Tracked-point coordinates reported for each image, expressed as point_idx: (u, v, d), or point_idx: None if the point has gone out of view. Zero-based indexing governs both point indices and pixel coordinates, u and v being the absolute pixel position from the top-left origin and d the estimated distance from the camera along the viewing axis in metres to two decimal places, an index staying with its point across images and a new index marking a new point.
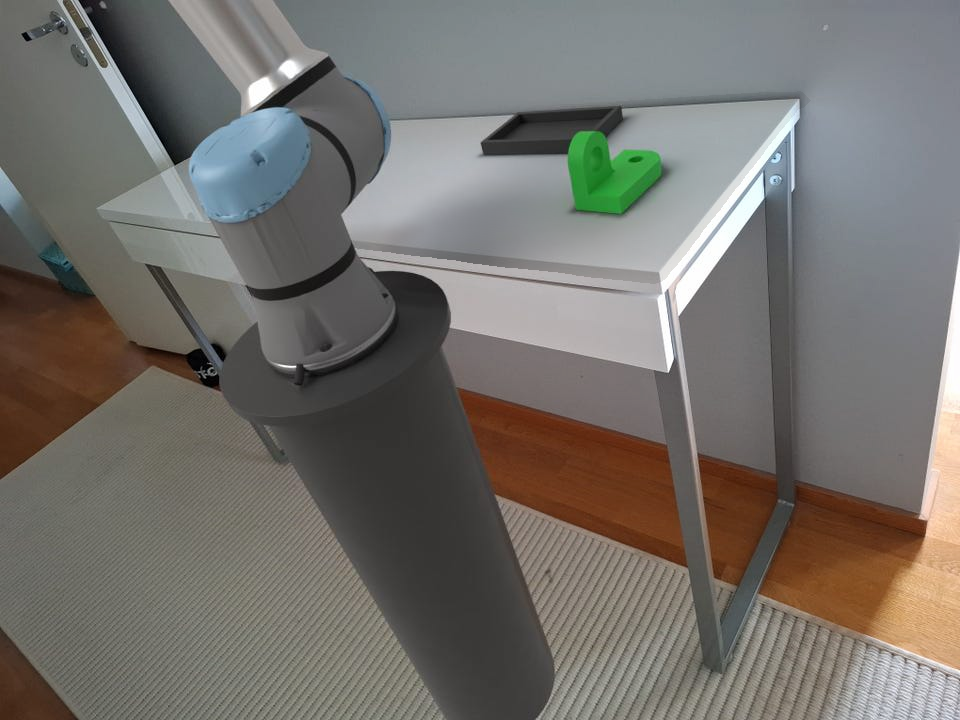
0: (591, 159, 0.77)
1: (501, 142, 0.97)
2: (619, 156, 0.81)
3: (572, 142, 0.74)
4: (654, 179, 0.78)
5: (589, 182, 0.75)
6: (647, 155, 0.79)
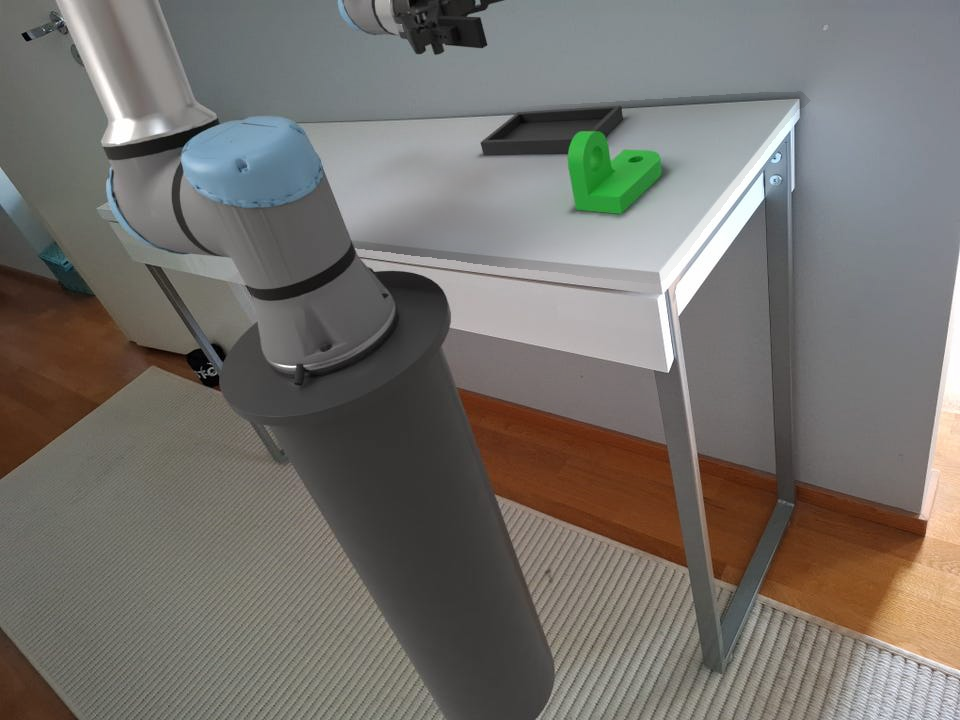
0: (591, 159, 0.77)
1: (501, 142, 0.97)
2: (619, 156, 0.81)
3: (572, 142, 0.74)
4: (654, 179, 0.78)
5: (589, 182, 0.75)
6: (647, 155, 0.79)
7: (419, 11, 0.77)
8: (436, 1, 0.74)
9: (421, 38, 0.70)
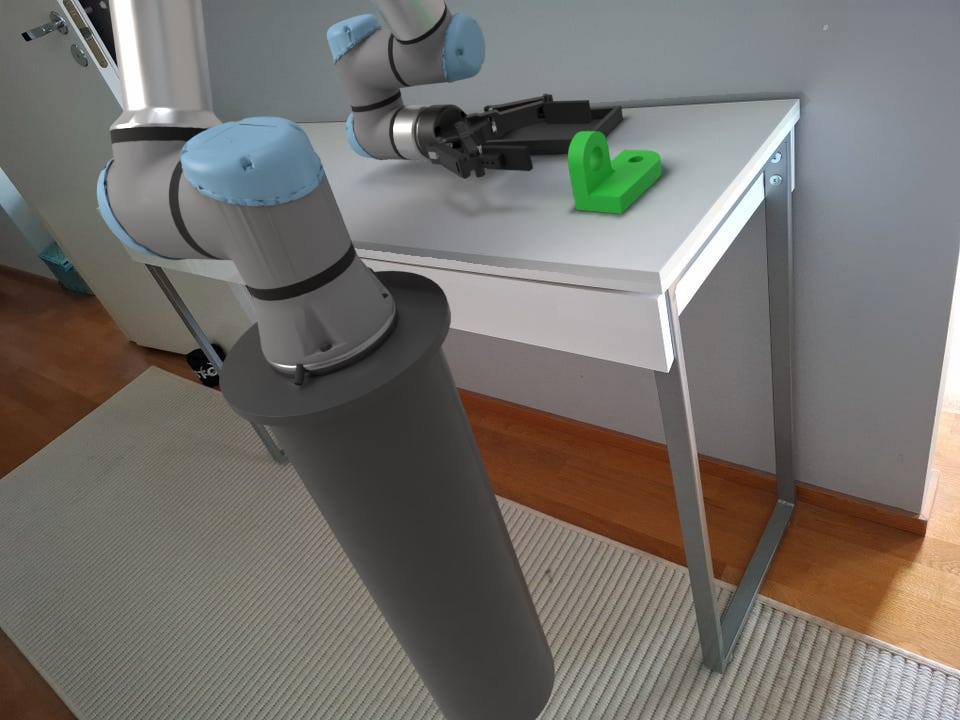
0: (591, 159, 0.77)
1: (501, 142, 0.97)
2: (619, 156, 0.81)
3: (572, 142, 0.74)
4: (654, 179, 0.78)
5: (589, 182, 0.75)
6: (647, 155, 0.79)
7: (447, 140, 0.86)
8: (467, 132, 0.84)
9: (468, 164, 0.79)
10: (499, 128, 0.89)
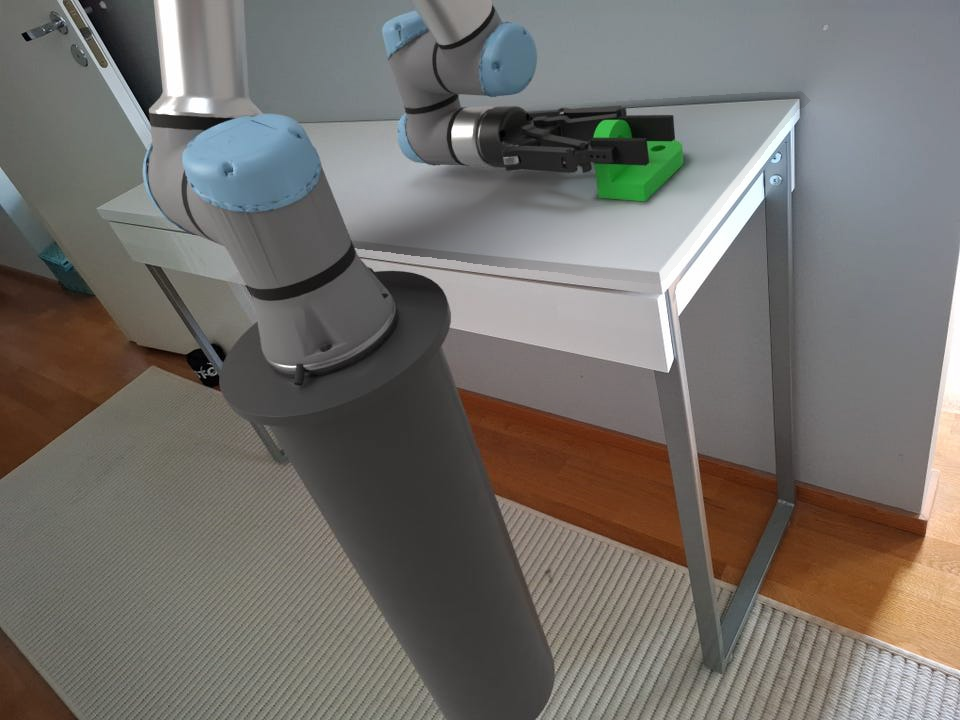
0: None
1: None
2: None
3: (596, 130, 0.75)
4: (676, 168, 0.79)
5: (613, 170, 0.76)
6: (669, 144, 0.80)
7: (514, 145, 0.80)
8: (547, 132, 0.78)
9: (576, 157, 0.74)
10: (565, 137, 0.81)
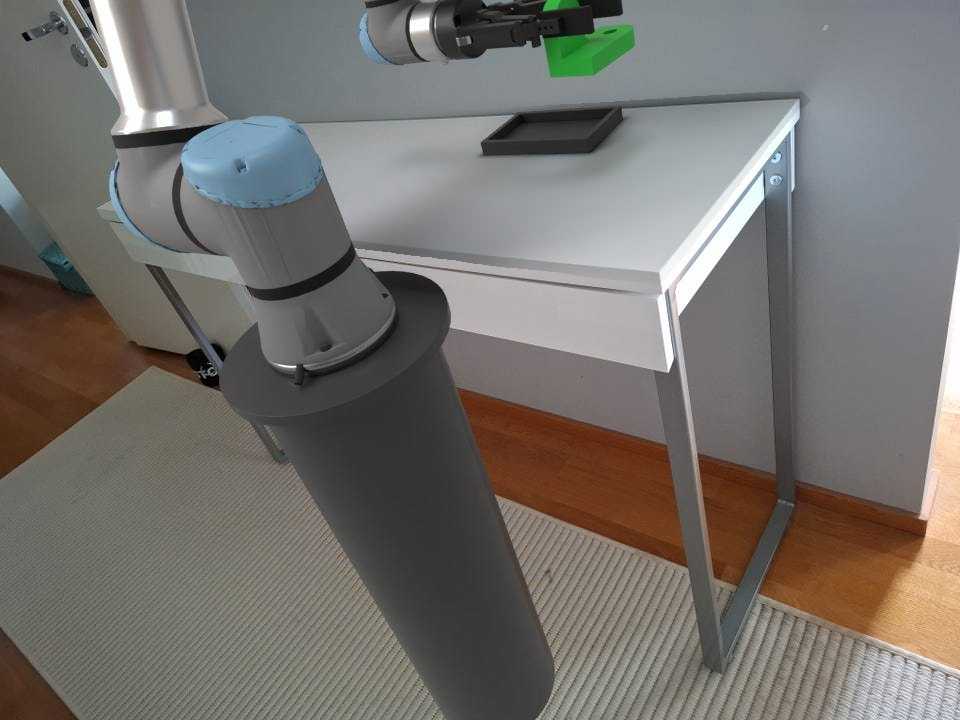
0: None
1: (501, 142, 0.97)
2: None
3: (545, 5, 0.76)
4: (627, 48, 0.80)
5: (563, 46, 0.77)
6: (621, 28, 0.81)
7: None
8: (499, 12, 0.79)
9: (525, 30, 0.75)
10: None
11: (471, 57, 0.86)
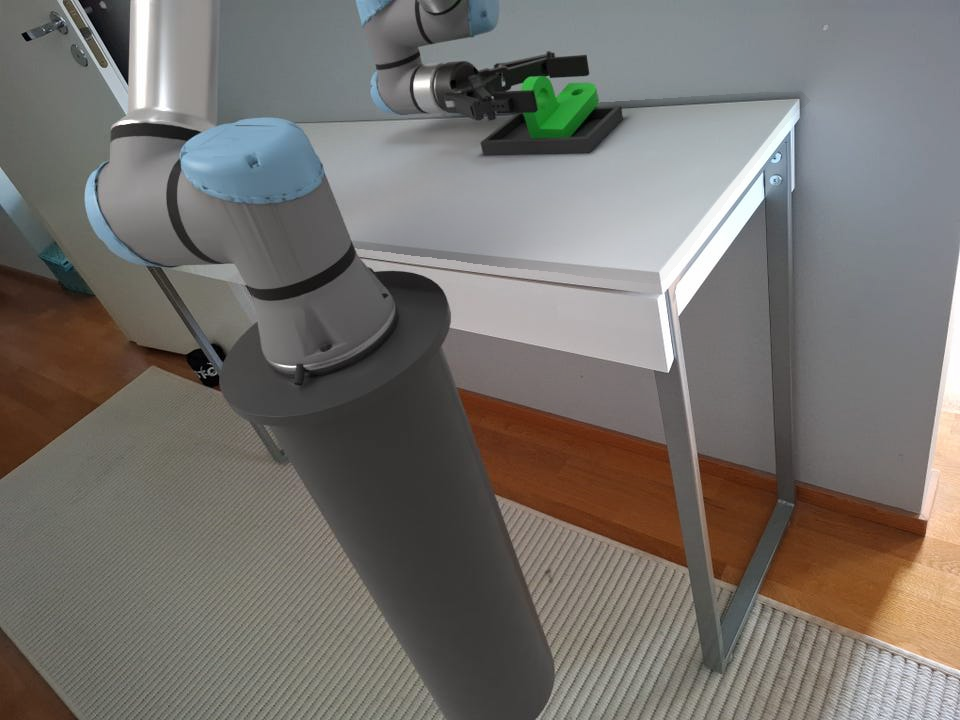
0: (540, 98, 0.96)
1: (501, 142, 0.97)
2: (564, 90, 1.00)
3: (522, 87, 0.93)
4: (592, 108, 0.97)
5: (539, 118, 0.95)
6: (586, 87, 0.98)
7: (462, 91, 0.98)
8: (479, 83, 0.96)
9: (481, 108, 0.91)
10: (507, 82, 1.01)
11: None
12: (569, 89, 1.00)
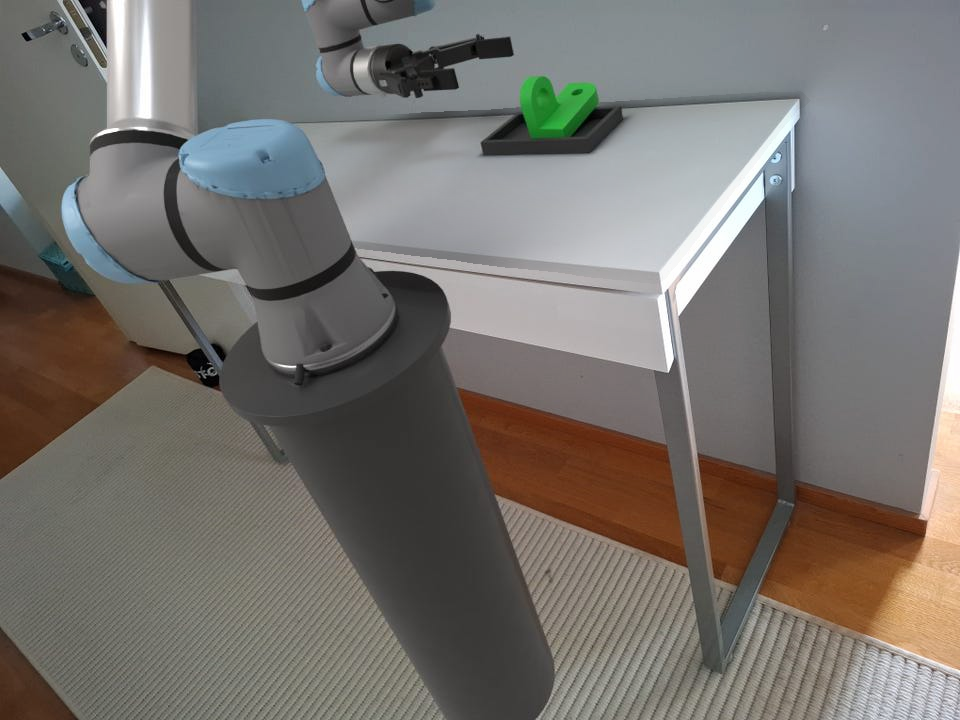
0: (540, 98, 0.96)
1: (501, 142, 0.97)
2: (564, 90, 1.00)
3: (522, 87, 0.93)
4: (592, 108, 0.97)
5: (539, 118, 0.95)
6: (586, 87, 0.98)
7: (395, 71, 1.04)
8: (410, 63, 1.02)
9: (408, 86, 0.97)
10: (440, 63, 1.07)
11: None
12: (569, 89, 1.00)
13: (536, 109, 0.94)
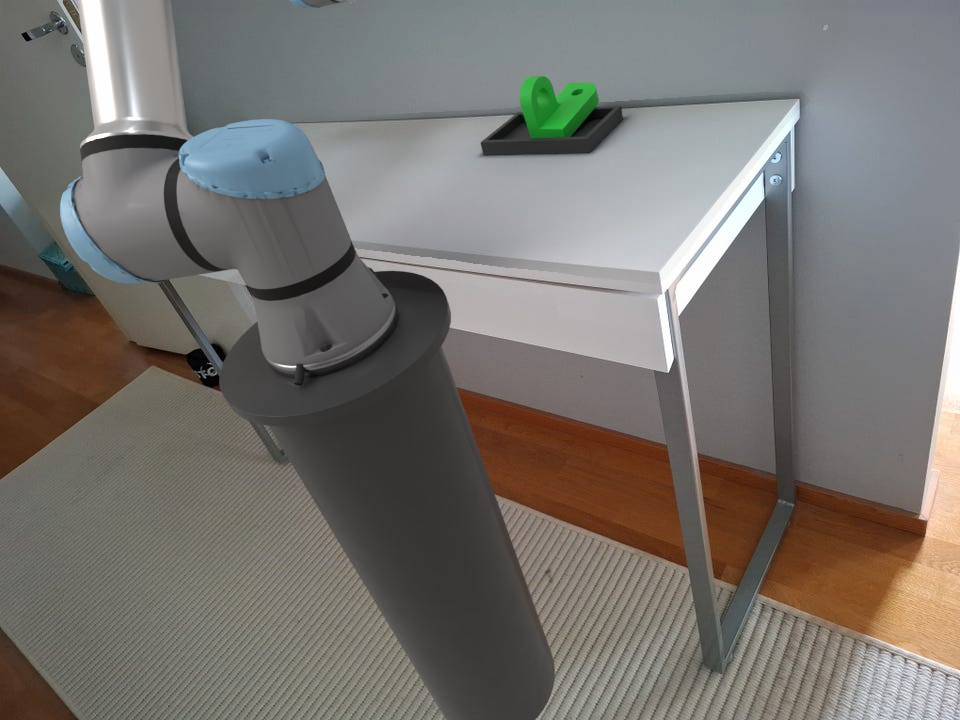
0: (540, 98, 0.96)
1: (501, 142, 0.97)
2: (564, 90, 1.00)
3: (522, 87, 0.93)
4: (592, 108, 0.97)
5: (539, 118, 0.95)
6: (586, 87, 0.98)
7: None
8: None
9: None
10: None
11: None
12: (569, 89, 1.00)
13: (536, 109, 0.94)
